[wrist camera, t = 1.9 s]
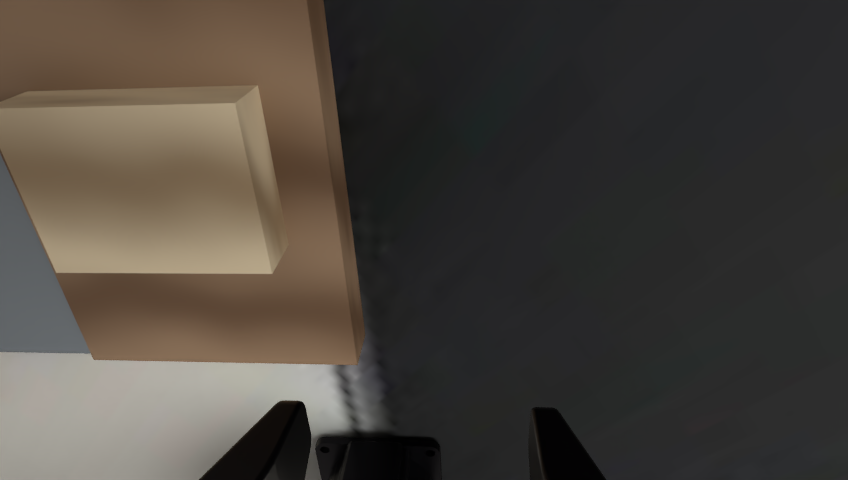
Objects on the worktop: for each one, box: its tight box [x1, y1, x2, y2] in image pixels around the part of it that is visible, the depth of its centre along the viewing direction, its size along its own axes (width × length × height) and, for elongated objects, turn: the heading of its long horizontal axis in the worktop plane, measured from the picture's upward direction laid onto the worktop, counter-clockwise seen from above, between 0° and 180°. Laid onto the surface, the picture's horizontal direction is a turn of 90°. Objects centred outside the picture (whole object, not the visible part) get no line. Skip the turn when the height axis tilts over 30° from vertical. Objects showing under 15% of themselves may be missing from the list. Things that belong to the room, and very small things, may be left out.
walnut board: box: [0, 0, 365, 365], centre depth 21 cm, size 18×12×2 cm, turn 3°
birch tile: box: [0, 85, 289, 274], centre depth 19 cm, size 6×8×2 cm
